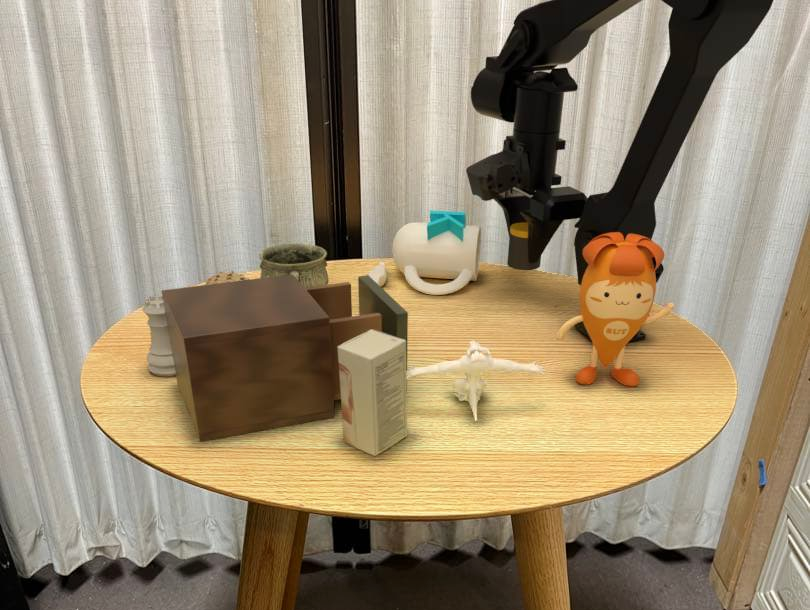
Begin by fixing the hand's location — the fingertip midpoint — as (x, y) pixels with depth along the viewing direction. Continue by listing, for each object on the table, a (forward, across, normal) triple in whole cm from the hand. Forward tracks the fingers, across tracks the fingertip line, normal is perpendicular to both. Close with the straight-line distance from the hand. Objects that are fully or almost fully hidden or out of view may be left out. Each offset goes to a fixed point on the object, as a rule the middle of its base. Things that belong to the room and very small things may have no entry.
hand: (524, 257), depth 110 cm
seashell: (+5, -4, -40) cm, 40 cm away
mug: (+5, -7, -10) cm, 13 cm away
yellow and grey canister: (+1, 0, 0) cm, 1 cm away
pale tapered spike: (+5, -7, -19) cm, 21 cm away
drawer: (+4, +19, -33) cm, 38 cm away
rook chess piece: (+5, +8, -49) cm, 50 cm away
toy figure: (+5, +27, -4) cm, 27 cm away
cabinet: (+4, +19, -42) cm, 46 cm away
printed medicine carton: (+5, +31, -33) cm, 46 cm away
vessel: (+5, -7, -30) cm, 31 cm away
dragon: (+5, +28, -21) cm, 36 cm away
